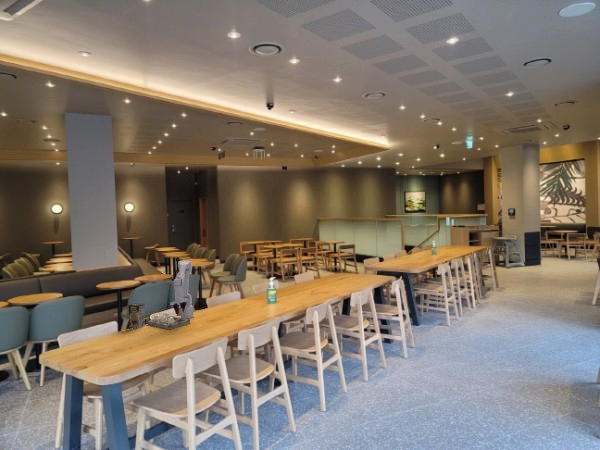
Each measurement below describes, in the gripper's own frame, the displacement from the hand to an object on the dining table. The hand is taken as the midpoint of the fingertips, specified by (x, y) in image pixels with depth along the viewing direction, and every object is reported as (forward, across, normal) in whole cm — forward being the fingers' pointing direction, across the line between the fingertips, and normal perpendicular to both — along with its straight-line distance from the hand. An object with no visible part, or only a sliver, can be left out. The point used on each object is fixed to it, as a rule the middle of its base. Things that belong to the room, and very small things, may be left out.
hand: (179, 313), depth 303 cm
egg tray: (+8, -4, +8) cm, 12 cm away
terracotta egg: (+1, 0, 0) cm, 1 cm away
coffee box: (+8, -20, +23) cm, 32 cm away
